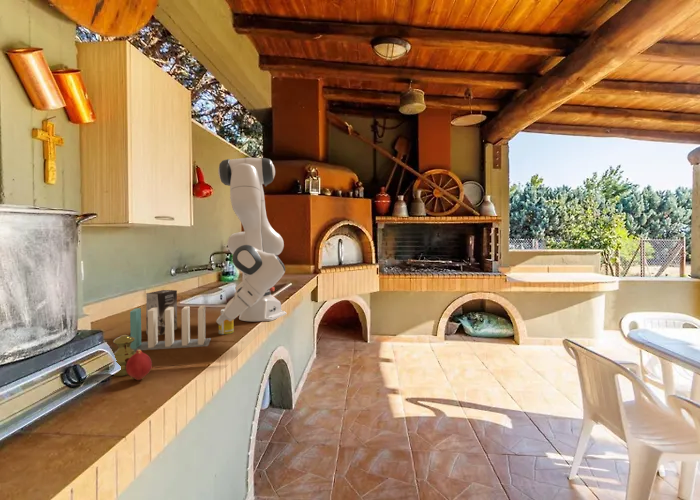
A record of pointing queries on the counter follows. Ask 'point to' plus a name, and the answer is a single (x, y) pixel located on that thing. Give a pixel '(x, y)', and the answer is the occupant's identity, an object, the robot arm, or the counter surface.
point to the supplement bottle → (226, 326)
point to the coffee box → (161, 307)
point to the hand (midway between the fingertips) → (218, 322)
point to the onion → (138, 365)
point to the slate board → (175, 345)
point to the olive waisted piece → (123, 352)
